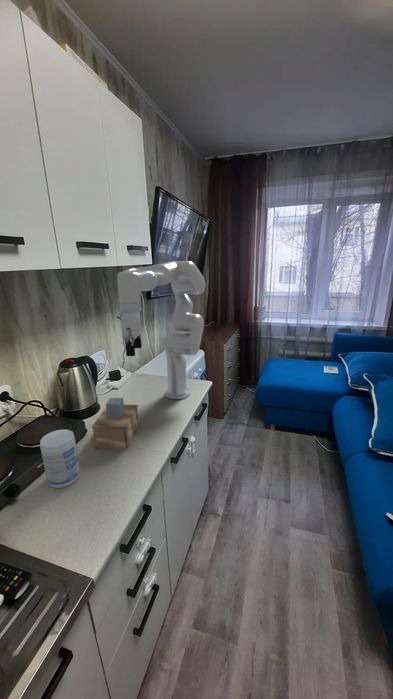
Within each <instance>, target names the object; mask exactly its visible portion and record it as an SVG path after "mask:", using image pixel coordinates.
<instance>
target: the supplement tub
mask: <svg viewBox="0 0 393 699" xmlns="http://www.w3.org/2000/svg"><path fill="white" fill-rule="evenodd" d="M74 434H75V433H74V432H73V430H70V429H58V430H53V431H51V432H49V433H47V434H45V435H43V437H42V438H41V439H40V441H39V444H40V445H39V448H40V451H41V452H40V453H41V458H42V463H43V469H44V472H45V473H44V474H45V476H46V481H47V484H48V485H49V487H51V488H55V489H59V488H60V489H61V488H64V487H68V486H70V485H72V484H73V483H75V482H76V481H77V480H78V479H79V477H80V474H81V470H80V469H81V468H80V463H79V457H78V456H79V455H78V449H77V443H76V438H75V435H74Z"/></svg>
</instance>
